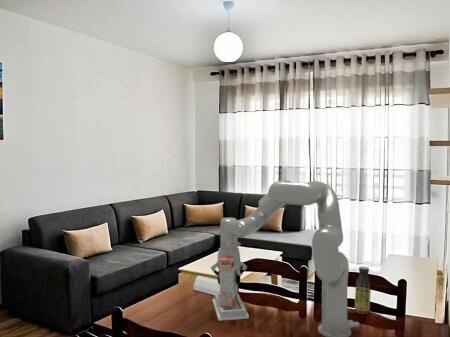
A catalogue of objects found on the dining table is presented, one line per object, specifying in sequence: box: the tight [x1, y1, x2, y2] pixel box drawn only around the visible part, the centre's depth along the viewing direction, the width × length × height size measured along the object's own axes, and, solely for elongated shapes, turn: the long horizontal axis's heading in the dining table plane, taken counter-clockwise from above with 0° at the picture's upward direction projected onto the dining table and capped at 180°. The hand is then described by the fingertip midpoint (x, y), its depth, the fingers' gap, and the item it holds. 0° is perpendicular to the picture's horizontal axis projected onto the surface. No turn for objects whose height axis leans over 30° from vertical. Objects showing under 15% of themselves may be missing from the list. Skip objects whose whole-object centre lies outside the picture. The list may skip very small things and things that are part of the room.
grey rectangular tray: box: [212, 293, 250, 322], centre depth 180 cm, size 13×22×4 cm, turn 8°
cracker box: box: [219, 257, 239, 307], centre depth 179 cm, size 14×6×21 cm, turn 169°
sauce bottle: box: [354, 266, 372, 315], centre depth 175 cm, size 7×6×20 cm
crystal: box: [193, 275, 220, 296], centre depth 201 cm, size 7×7×24 cm
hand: (229, 284), depth 179 cm, fingers closed on cracker box, 7 cm apart
